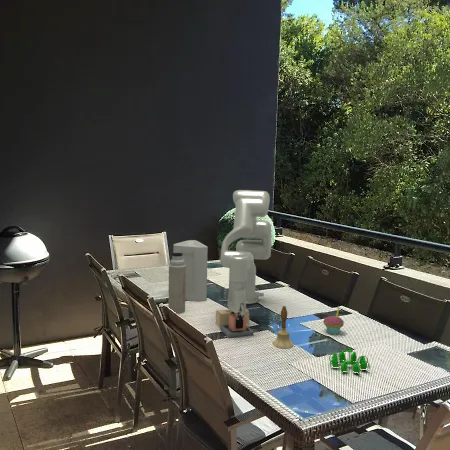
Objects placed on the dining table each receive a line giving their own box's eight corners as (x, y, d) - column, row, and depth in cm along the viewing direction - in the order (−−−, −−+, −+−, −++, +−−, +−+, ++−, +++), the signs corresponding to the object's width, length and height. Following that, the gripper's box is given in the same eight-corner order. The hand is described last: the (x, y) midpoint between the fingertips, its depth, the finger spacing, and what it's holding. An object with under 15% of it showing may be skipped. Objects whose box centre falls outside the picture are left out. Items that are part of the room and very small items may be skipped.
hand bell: (280, 350, 198) (281, 310, 195) (268, 342, 205) (270, 304, 202) (297, 346, 202) (299, 308, 199) (285, 339, 209) (287, 302, 206)
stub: (241, 326, 219) (242, 312, 218) (246, 330, 214) (246, 316, 213) (228, 327, 217) (229, 313, 216) (233, 331, 212) (233, 317, 211)
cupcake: (344, 330, 221) (345, 304, 219) (341, 337, 213) (343, 309, 211) (324, 327, 224) (325, 301, 222) (321, 334, 216) (322, 307, 214)
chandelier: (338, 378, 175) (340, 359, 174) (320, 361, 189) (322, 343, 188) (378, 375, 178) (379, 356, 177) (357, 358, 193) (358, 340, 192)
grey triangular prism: (168, 293, 269) (168, 241, 265) (194, 290, 275) (195, 240, 270) (179, 303, 252) (179, 248, 247) (207, 300, 257) (208, 246, 253)
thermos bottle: (187, 309, 244) (188, 252, 240) (182, 314, 236) (183, 255, 232) (171, 307, 245) (171, 251, 241) (166, 312, 238) (166, 254, 233)
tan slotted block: (244, 320, 230) (245, 307, 229) (248, 324, 225) (249, 311, 224) (215, 323, 225) (215, 310, 224) (219, 327, 220) (219, 313, 220)
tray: (243, 326, 222) (243, 322, 222) (253, 335, 212) (253, 331, 212) (219, 329, 218) (219, 325, 218) (228, 338, 208) (229, 334, 208)
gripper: (222, 279, 219) (221, 320, 222) (237, 290, 203) (235, 333, 206) (238, 278, 221) (237, 318, 224) (254, 289, 205) (252, 332, 208)
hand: (236, 325), depth 215 cm, fingers open, 5 cm apart
